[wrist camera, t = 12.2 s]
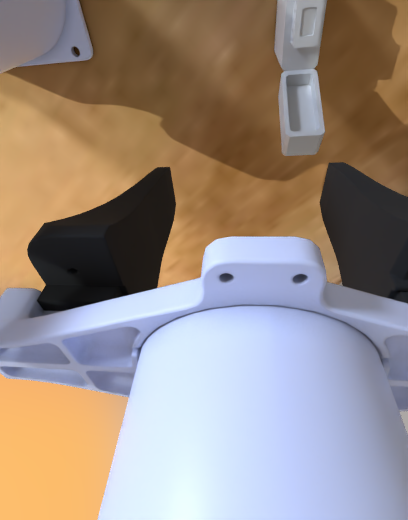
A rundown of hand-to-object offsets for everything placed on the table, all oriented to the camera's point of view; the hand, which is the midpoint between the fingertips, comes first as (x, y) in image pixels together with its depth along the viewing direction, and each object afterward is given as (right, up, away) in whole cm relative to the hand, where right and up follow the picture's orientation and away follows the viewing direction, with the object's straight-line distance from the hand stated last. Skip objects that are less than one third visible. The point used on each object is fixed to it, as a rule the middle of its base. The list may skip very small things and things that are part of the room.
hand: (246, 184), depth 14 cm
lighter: (+3, +10, +4) cm, 11 cm away
